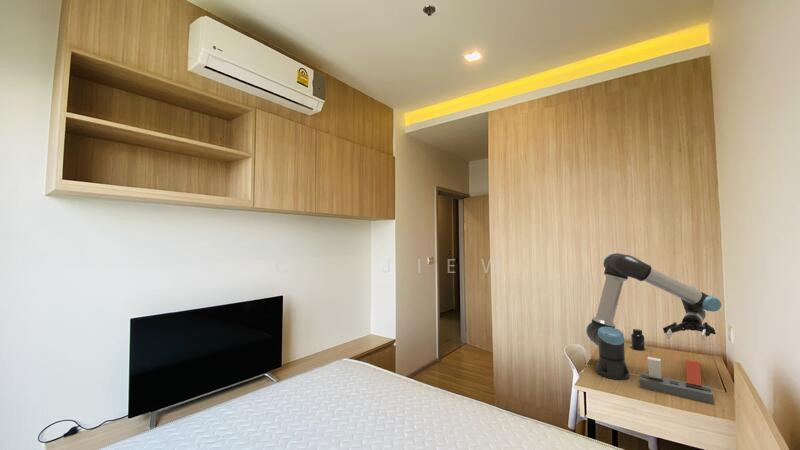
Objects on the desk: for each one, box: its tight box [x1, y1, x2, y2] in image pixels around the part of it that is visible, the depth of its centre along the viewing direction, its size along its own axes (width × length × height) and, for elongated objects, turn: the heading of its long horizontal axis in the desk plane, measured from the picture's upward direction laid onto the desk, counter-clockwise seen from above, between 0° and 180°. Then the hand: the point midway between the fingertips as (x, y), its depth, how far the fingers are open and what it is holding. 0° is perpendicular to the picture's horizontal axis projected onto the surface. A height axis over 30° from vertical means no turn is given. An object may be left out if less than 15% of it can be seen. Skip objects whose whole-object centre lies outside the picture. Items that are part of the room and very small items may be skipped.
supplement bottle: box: [630, 328, 646, 351], centre depth 208 cm, size 7×7×12 cm
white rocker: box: [647, 356, 663, 379], centre depth 157 cm, size 5×2×10 cm, turn 50°
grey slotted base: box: [639, 372, 715, 405], centre depth 154 cm, size 26×9×4 cm, turn 50°
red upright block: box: [685, 359, 702, 387], centre depth 151 cm, size 5×2×10 cm, turn 50°
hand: (685, 336), depth 159 cm, fingers open, 13 cm apart
